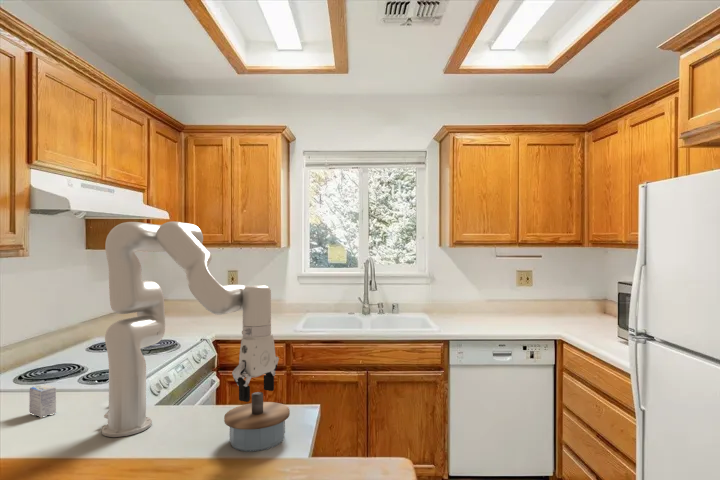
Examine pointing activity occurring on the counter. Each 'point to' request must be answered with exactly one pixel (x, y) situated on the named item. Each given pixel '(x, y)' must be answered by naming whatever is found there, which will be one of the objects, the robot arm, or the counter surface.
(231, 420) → the lid
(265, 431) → the bowl
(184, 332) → the counter surface
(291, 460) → the counter surface
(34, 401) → the medicine box
